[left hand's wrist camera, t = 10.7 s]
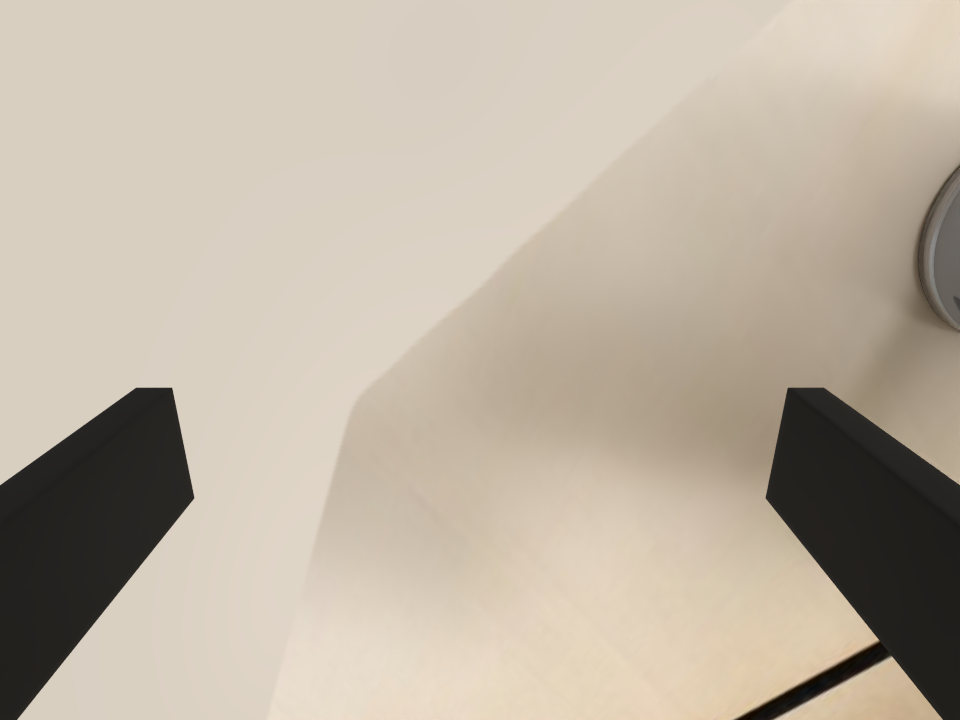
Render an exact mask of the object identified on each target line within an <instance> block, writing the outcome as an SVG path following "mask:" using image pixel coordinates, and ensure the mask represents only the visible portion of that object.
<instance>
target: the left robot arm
mask: <svg viewBox="0 0 960 720" xmlns="http://www.w3.org/2000/svg"><path fill="white" fill-rule="evenodd" d="M919 274H920V280H921V284H922V287H923V291H924V293H925V295H926V298H927V300H928V301H929V303H930V305H931V306H932V308H933V309H934V310H935V312H936V313H937V314H938V315H939V316H940V317H941V318H942V319H943V320H944V321H945V322H947V323H948V324H949V325H951V326H952V327H954V328H956V329H958V330H960V168H959V169H958V170H957V171H956V172H955V173H954V174H953V176H952V177H951V178H950V180H949V181H948V182H947V184H946V185H945V186H944V188H943V189H942V191H941V193H940V194H939V196H938V197H937V199H936V201H935V203H934V205H933V207H932V209H931V211H930V213H929V216H928V218H927V221H926V223H925V226H924V229H923V233H922V237H921V242H920V249H919ZM193 499H194V494H193V489H192V484H191V479H190V474H189V469H188V464H187V459H186V454H185V449H184V444H183V439H182V434H181V429H180V424H179V420H178V415H177V410H176V405H175V400H174V395H173V390H172V388H135V389H134V390H132V391H131V392H130V393H128V394H127V395H125V396H124V397H123V398H121V399H120V400H119V401H117V402H116V403H114V404H113V405H112V406H110V407H109V408H107V409H106V410H105V411H103V412H102V413H100V414H99V415H98V416H96V417H95V418H93V419H92V420H91V421H89V422H88V423H86V424H85V425H84V426H82V427H81V428H79V429H78V430H77V431H75V432H74V433H72V434H71V435H70V436H68V437H67V438H66V439H64V440H63V441H61V442H60V443H59V444H57V445H56V446H54V447H53V448H52V449H50V450H49V451H47V452H46V453H45V454H43V455H42V456H40V457H39V458H38V459H36V460H35V461H33V462H32V463H31V464H29V465H28V466H26V467H25V468H24V469H22V470H21V471H20V472H18V473H17V474H15V475H14V476H13V477H11V478H10V479H8V480H7V481H6V482H4V483H3V484H1V485H0V720H17V719H18V718H19V717H20V715H21V714H22V713H23V712H24V710H25V709H26V708H27V707H28V705H29V704H30V703H31V702H32V700H33V699H34V698H35V697H36V695H37V694H38V693H39V692H40V690H41V689H42V688H43V687H44V685H45V684H46V683H47V682H48V680H49V679H50V678H51V677H52V675H53V674H54V673H55V672H56V670H57V669H58V668H59V667H60V665H61V664H62V663H63V662H64V660H65V659H66V658H67V657H68V655H69V654H70V653H71V652H72V650H73V649H74V648H75V647H76V645H77V644H78V643H79V642H80V640H81V639H82V638H83V637H84V635H85V634H86V633H87V632H88V630H89V629H90V628H91V627H92V625H93V624H94V623H95V622H96V620H97V619H98V618H99V617H100V615H101V614H102V613H103V612H104V610H105V609H106V608H107V607H108V605H109V604H110V603H111V602H112V600H113V599H114V598H115V597H116V595H117V594H118V593H119V592H120V590H121V589H122V588H123V587H124V585H125V584H126V583H127V582H128V580H129V579H130V578H131V577H132V575H133V574H134V573H135V572H136V570H137V569H138V568H139V567H140V565H141V564H142V563H143V562H144V560H145V559H146V558H147V557H148V555H149V554H150V553H151V552H152V550H153V549H154V548H155V547H156V545H157V544H158V543H159V542H160V540H161V539H162V538H163V537H164V535H165V534H166V533H167V532H168V530H169V529H170V528H171V527H172V525H173V524H174V523H175V522H176V520H177V519H178V518H179V517H180V515H181V514H182V513H183V512H184V510H185V509H186V508H187V507H188V505H189V504H190V503H191V502H192V500H193ZM766 499H767V500H768V502H769V503H770V504H771V505H772V507H773V508H774V509H775V510H776V512H777V513H778V514H779V515H780V517H781V518H782V519H783V520H784V522H785V523H786V524H787V525H788V527H789V528H790V529H791V530H792V532H793V533H794V534H795V535H796V537H797V538H798V539H799V540H800V542H801V543H802V544H803V545H804V547H805V548H806V549H807V550H808V552H809V553H810V554H811V555H812V557H813V558H814V559H815V560H816V562H817V563H818V564H819V565H820V567H821V568H822V569H823V570H824V572H825V573H826V574H827V575H828V577H829V578H830V579H831V580H832V582H833V583H834V584H835V585H836V587H837V588H838V589H839V590H840V592H841V593H842V594H843V595H844V597H845V598H846V599H847V600H848V602H849V603H850V604H851V605H852V607H853V608H854V609H855V610H856V612H857V613H858V614H859V615H860V617H861V618H862V619H863V620H864V622H865V623H866V624H867V625H868V627H869V628H870V629H871V630H872V632H873V633H874V634H875V635H876V637H877V638H878V639H879V640H880V642H881V643H882V644H883V645H884V647H885V648H886V649H887V650H888V652H889V653H890V654H891V655H892V657H893V658H894V659H895V660H896V662H897V663H898V664H899V665H900V667H901V668H902V669H903V670H904V672H905V673H906V674H907V675H908V677H909V678H910V679H911V680H912V682H913V683H914V684H915V685H916V687H917V688H918V689H919V690H920V692H921V693H922V694H923V695H924V697H925V698H926V699H927V700H928V702H929V703H930V704H931V705H932V707H933V708H934V709H935V710H936V712H937V713H938V714H939V715H940V717H941V718H942V719H943V720H960V485H959V484H957V483H956V482H954V481H953V480H952V479H950V478H949V477H947V476H946V475H945V474H943V473H942V472H941V471H939V470H938V469H936V468H935V467H934V466H932V465H931V464H929V463H928V462H927V461H925V460H924V459H922V458H921V457H920V456H918V455H917V454H915V453H914V452H913V451H911V450H910V449H908V448H907V447H906V446H904V445H903V444H901V443H900V442H899V441H897V440H896V439H895V438H893V437H892V436H890V435H889V434H888V433H886V432H885V431H883V430H882V429H881V428H879V427H878V426H876V425H875V424H874V423H872V422H871V421H869V420H868V419H867V418H865V417H864V416H862V415H861V414H860V413H858V412H857V411H855V410H854V409H853V408H851V407H850V406H849V405H847V404H846V403H844V402H843V401H842V400H840V399H839V398H837V397H836V396H835V395H833V394H832V393H830V392H829V391H828V390H826V389H825V388H788V390H787V395H786V400H785V405H784V410H783V414H782V419H781V424H780V429H779V434H778V439H777V444H776V449H775V454H774V459H773V464H772V469H771V474H770V479H769V484H768V489H767V494H766Z"/></svg>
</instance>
